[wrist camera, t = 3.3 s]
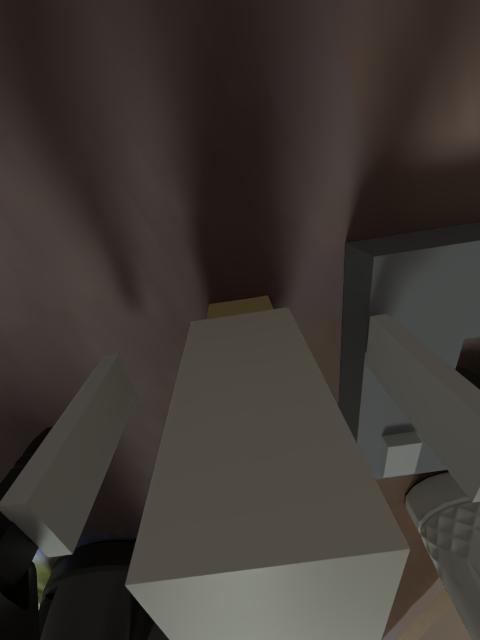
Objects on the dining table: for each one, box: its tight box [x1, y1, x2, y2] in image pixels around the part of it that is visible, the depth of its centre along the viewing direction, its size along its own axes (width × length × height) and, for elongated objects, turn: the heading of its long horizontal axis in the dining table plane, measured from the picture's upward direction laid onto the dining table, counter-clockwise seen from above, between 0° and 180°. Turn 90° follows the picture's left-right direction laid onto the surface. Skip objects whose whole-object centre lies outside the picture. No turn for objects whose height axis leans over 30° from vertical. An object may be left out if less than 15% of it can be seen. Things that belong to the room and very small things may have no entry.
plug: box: [125, 295, 410, 640], centre depth 10 cm, size 4×4×12 cm
